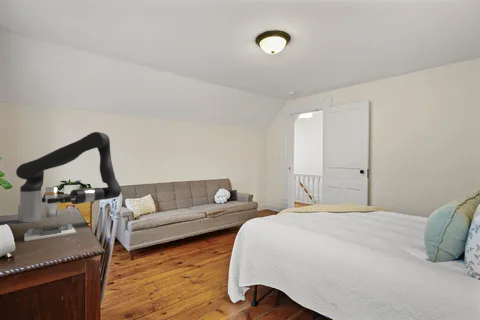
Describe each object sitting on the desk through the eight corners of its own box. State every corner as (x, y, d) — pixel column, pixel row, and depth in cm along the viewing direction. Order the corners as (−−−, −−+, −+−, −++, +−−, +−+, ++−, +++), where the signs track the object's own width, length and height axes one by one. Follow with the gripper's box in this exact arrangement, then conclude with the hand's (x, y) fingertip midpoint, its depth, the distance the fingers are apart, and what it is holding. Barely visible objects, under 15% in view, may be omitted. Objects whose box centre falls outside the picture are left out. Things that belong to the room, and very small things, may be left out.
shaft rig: (24, 241, 107) (24, 234, 107) (24, 235, 115) (24, 228, 115) (76, 233, 120) (76, 227, 120) (72, 228, 128) (73, 222, 128)
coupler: (42, 217, 115) (42, 188, 115) (51, 215, 120) (51, 186, 120) (52, 217, 115) (52, 188, 115) (60, 215, 120) (60, 187, 120)
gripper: (75, 187, 133) (37, 191, 118) (90, 189, 127) (52, 194, 112) (75, 201, 134) (37, 207, 119) (90, 204, 127) (52, 210, 112)
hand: (45, 200), depth 115 cm, fingers closed on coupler, 4 cm apart
